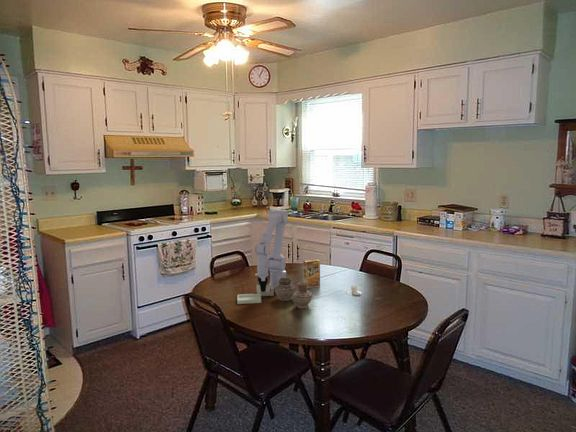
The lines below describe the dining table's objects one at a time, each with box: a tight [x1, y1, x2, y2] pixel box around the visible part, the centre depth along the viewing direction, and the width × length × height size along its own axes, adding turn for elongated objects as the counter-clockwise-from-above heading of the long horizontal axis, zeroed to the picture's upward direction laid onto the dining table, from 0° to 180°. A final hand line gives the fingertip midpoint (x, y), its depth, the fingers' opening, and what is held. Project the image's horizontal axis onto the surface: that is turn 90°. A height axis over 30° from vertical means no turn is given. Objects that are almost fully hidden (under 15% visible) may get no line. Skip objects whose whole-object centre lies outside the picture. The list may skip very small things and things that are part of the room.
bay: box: [256, 285, 275, 297], centre depth 231 cm, size 9×7×4 cm
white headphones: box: [346, 285, 362, 296], centre depth 231 cm, size 9×8×4 cm
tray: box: [236, 293, 262, 305], centre depth 222 cm, size 12×9×2 cm
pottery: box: [274, 277, 313, 309], centre depth 217 cm, size 11×25×12 cm, turn 38°
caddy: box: [255, 280, 270, 294], centre depth 231 cm, size 8×4×7 cm, turn 95°
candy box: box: [302, 258, 321, 289], centre depth 242 cm, size 9×4×15 cm, turn 113°
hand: (263, 290), depth 231 cm, fingers closed on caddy, 4 cm apart
